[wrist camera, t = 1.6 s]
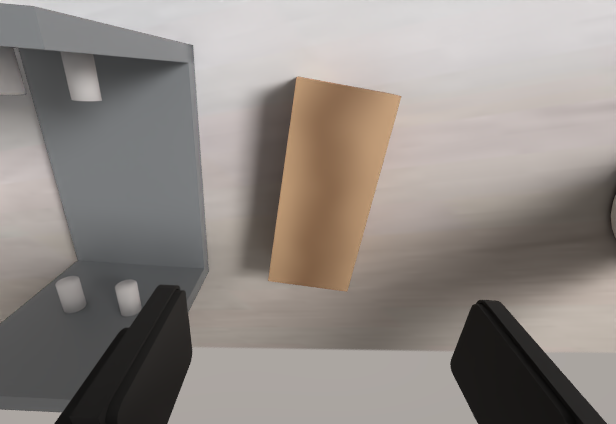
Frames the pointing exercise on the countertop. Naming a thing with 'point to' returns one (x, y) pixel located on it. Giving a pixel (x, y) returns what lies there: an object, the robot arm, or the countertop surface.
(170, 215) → the shelf stand
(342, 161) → the shelf board
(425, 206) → the countertop surface
